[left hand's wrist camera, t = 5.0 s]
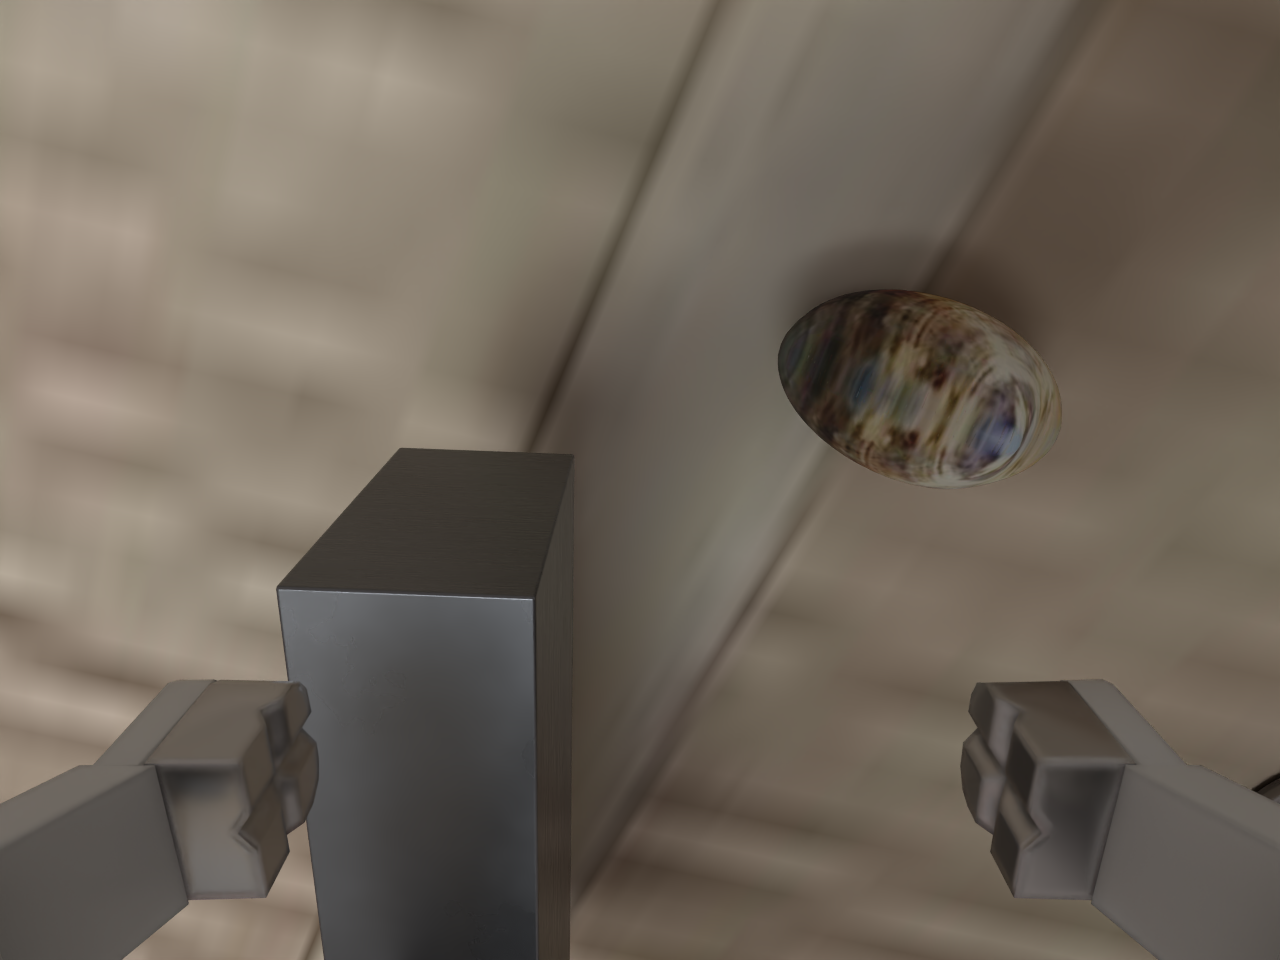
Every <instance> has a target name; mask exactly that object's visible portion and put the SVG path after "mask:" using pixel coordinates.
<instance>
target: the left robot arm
mask: <svg viewBox="0 0 1280 960" xmlns="http://www.w3.org/2000/svg"><path fill="white" fill-rule="evenodd" d="M311 712H312V711H311V706H310V701H309V696H308V691H307V688H306V687H305V686H304V685H303V684H302V683H301V682H299V681H251V680H219V681H217V680H177V681H174V682H170V683H168V684H167V685H166V686H165V687H164V688H163V689H162V690H161V691H160V692H159V694H158V695H157V696H156V697H155V698H154V699H153V700H152V701H151V702H150V703H149V704H148V706H147V707H146V708H145V709H144V710H143V711H142V712H141V713H140V714H139V715H138V717H137V718H136V719H135V720H134V721H133V722H132V723H131V724H130V725H129V726H128V727H127V729H126V730H125V731H124V732H123V733H122V734H121V735H120V736H119V737H118V738H117V739H116V741H115V742H114V743H113V744H112V745H111V746H110V747H109V748H108V749H107V750H106V752H105V753H104V754H103V755H102V756H101V757H100V758H99V759H98V760H97V761H96V762H95V764H94V765H79V766H77V767H75V768H73V769H71V770H69V771H67V772H64V773H62V774H60V775H58V776H56V777H54V778H52V779H50V780H48V781H46V782H44V783H42V784H40V785H38V786H36V787H34V788H32V789H30V790H28V791H26V792H24V793H22V794H20V795H18V796H16V797H13V798H11V799H9V800H7V801H5V802H3V803H1V804H0V960H122V959H123V958H124V957H126V956H127V955H128V954H129V953H130V952H132V951H133V950H134V949H135V948H136V947H138V946H139V945H140V944H141V943H142V942H144V941H145V940H146V939H147V938H148V937H150V936H151V935H152V934H153V933H154V932H156V931H157V930H158V929H159V928H160V927H162V926H163V925H164V924H165V923H167V922H168V921H169V920H170V919H171V918H173V917H174V916H175V915H176V914H177V913H179V912H180V911H181V910H182V909H183V908H185V907H186V906H187V905H188V903H189V902H188V900H206V899H240V898H266V897H267V895H268V893H269V891H270V889H271V887H272V885H273V883H274V881H275V879H276V877H277V875H278V873H279V871H280V870H281V868H282V866H283V864H284V862H285V860H286V858H287V856H288V854H289V852H290V850H289V844H288V839H287V834H289V833H290V832H292V831H293V830H294V829H296V828H297V827H299V826H300V825H302V824H303V823H304V822H305V820H306V818H307V816H308V814H309V812H310V810H311V808H312V806H313V804H314V799H315V795H316V790H317V786H318V781H319V755H318V748H317V742H316V741H315V740H314V739H313V738H312V737H311V736H310V735H309V734H308V733H307V732H306V731H305V730H304V729H303V728H302V727H303V726H304V724H305V722H306V720H307V719H308V717H309V715H310V714H311ZM968 712H969V714H970V715H971V717H972V719H973V720H974V722H975V724H976V726H977V727H978V728H977V729H976V730H975V731H974V732H973V733H972V734H971V735H970V736H969V737H968V738H967V739H966V740H965V741H964V742H963V749H962V757H961V765H960V767H961V778H962V789H963V792H964V796H965V799H966V802H967V806H968V808H969V810H970V812H971V814H972V816H973V818H974V820H975V822H976V823H977V824H978V825H980V826H981V827H983V828H984V829H986V830H987V831H988V832H990V833H991V834H993V839H992V844H991V850H990V852H991V854H992V856H993V858H994V860H995V862H996V864H997V866H998V868H999V869H1000V871H1001V873H1002V875H1003V877H1004V879H1005V881H1006V883H1007V885H1008V887H1009V889H1010V891H1011V893H1012V895H1013V897H1014V898H1038V899H1073V900H1092V902H1091V904H1092V905H1093V906H1095V907H1096V908H1097V909H1098V910H1099V911H1101V912H1102V913H1103V914H1104V915H1105V916H1107V917H1108V918H1109V919H1110V920H1111V921H1113V922H1114V923H1115V924H1116V925H1117V926H1119V927H1120V928H1121V929H1122V930H1123V931H1125V932H1126V933H1127V934H1128V935H1129V936H1131V937H1132V938H1133V939H1134V940H1135V941H1137V942H1138V943H1139V944H1140V945H1142V946H1143V947H1144V948H1145V949H1146V950H1148V951H1149V952H1150V953H1151V954H1152V955H1154V956H1155V957H1156V958H1157V959H1158V960H1280V804H1279V803H1277V802H1274V801H1272V800H1270V799H1268V798H1266V797H1264V796H1262V795H1260V794H1258V793H1256V792H1254V791H1252V790H1250V789H1248V788H1246V787H1244V786H1242V785H1240V784H1238V783H1236V782H1234V781H1232V780H1230V779H1228V778H1226V777H1224V776H1222V775H1220V774H1218V773H1215V772H1213V771H1211V770H1209V769H1207V768H1205V767H1203V766H1201V765H1186V764H1185V762H1184V761H1183V760H1182V759H1181V758H1180V757H1179V756H1178V755H1177V754H1176V753H1175V752H1174V750H1173V749H1172V748H1171V747H1170V746H1169V745H1168V744H1167V743H1166V742H1165V741H1164V739H1163V738H1162V737H1161V736H1160V735H1159V734H1158V733H1157V732H1156V731H1155V730H1154V729H1153V727H1152V726H1151V725H1150V724H1149V723H1148V722H1147V721H1146V720H1145V719H1144V718H1143V716H1142V715H1141V714H1140V713H1139V712H1138V711H1137V710H1136V709H1135V708H1134V707H1133V706H1132V704H1131V703H1130V702H1129V701H1128V700H1127V699H1126V698H1125V697H1124V696H1123V695H1122V694H1121V692H1120V691H1119V690H1118V689H1117V688H1116V687H1115V686H1114V685H1113V684H1112V683H1110V682H1107V681H1105V680H1103V679H1089V680H1061V681H1044V682H989V683H977V684H976V686H975V688H974V690H973V692H972V694H971V700H970V705H969V711H968Z"/></svg>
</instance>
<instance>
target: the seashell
mask: <svg viewBox="0 0 1280 960" xmlns="http://www.w3.org/2000/svg"><path fill="white" fill-rule="evenodd" d="M778 370H779V375H780V379H781V383H782V386H783V388H784V391H785V393H786V395H787V397H788V399H789V401H790V402H791V404H792V406H793V407H794V409H795V410H796V412H797V413H798V414H799V415H800V417H801V418H802V419H803V420H804V422H805V423H806V424H807V425H808V426H809V427H810V428H811V429H812V430H813V431H814V432H815V433H816V434H817V435H818V436H819V437H821V438H822V439H823V440H824V441H825V442H827V443H828V444H829V445H830V446H832V447H833V448H834V449H836V450H837V451H839V452H840V453H842V454H843V455H845V456H846V457H848V458H850V459H851V460H853V461H855V462H856V463H858V464H860V465H862V466H864V467H866V468H868V469H870V470H872V471H874V472H877V473H879V474H881V475H884V476H886V477H889V478H892V479H895V480H898V481H901V482H905V483H908V484H912V485H917V486H922V487H929V488H939V489H958V488H968V487H975V486H980V485H985V484H989V483H993V482H996V481H1000V480H1003V479H1006V478H1008V477H1011V476H1014V475H1016V474H1018V473H1020V472H1022V471H1024V470H1026V469H1028V468H1029V467H1031V466H1032V465H1034V464H1035V463H1036V462H1037V461H1039V460H1040V459H1041V458H1042V457H1043V456H1044V455H1045V454H1046V453H1047V452H1048V451H1049V450H1050V449H1051V447H1052V446H1053V444H1054V443H1055V441H1056V439H1057V436H1058V434H1059V431H1060V428H1061V422H1062V404H1061V398H1060V394H1059V390H1058V387H1057V384H1056V381H1055V379H1054V377H1053V375H1052V373H1051V372H1050V370H1049V368H1048V366H1047V365H1046V363H1045V362H1044V361H1043V359H1042V358H1041V357H1040V355H1039V354H1038V353H1037V352H1036V351H1035V350H1034V349H1033V348H1032V347H1031V346H1030V345H1029V344H1028V343H1027V342H1026V341H1025V340H1024V339H1023V338H1022V337H1021V336H1020V335H1018V334H1017V333H1016V332H1015V331H1013V330H1012V329H1011V328H1009V327H1008V326H1006V325H1005V324H1003V323H1002V322H1000V321H999V320H997V319H995V318H993V317H992V316H990V315H988V314H986V313H984V312H982V311H980V310H978V309H975V308H973V307H971V306H968V305H966V304H963V303H960V302H958V301H955V300H951V299H948V298H945V297H941V296H937V295H932V294H927V293H921V292H915V291H905V290H869V291H862V292H855V293H851V294H847V295H843V296H839V297H837V298H834V299H832V300H829V301H827V302H825V303H823V304H821V305H819V306H817V307H816V308H814V309H813V310H811V311H810V312H809V313H807V314H806V315H805V316H804V317H802V318H801V319H800V320H799V321H798V322H797V323H796V324H795V325H794V326H793V327H792V328H791V329H790V330H789V331H788V333H787V334H786V336H785V338H784V339H783V341H782V343H781V346H780V350H779V353H778Z"/></svg>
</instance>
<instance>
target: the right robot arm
mask: <svg viewBox="0 0 1280 960" xmlns="http://www.w3.org/2000/svg"><path fill="white" fill-rule="evenodd" d="M1256 793H1258V794H1260V795H1262V796H1264V797H1266V798H1268V799H1270V800H1272V801H1274V802H1277V803H1279V804H1280V778H1279V779H1277V780H1275V781H1273V782H1272V783H1270V784H1268V785H1267V786H1265V787H1263V788H1262V789H1261V790H1259V791H1258V792H1256Z"/></svg>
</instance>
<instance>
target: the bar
mask: <svg viewBox="0 0 1280 960" xmlns="http://www.w3.org/2000/svg"><path fill="white" fill-rule="evenodd" d="M573 546H574V455H572V454H546V453H520V452H495V451H469V450H443V449H418V448H399V449H398V451H397V452H396V453H395V454H394V455H393V456H392V457H391V458H390V460H389V461H388V462H387V463H386V464H385V465H384V466H383V467H382V469H381V470H380V471H379V472H378V473H377V474H376V475H375V476H374V478H373V479H372V480H371V481H370V482H369V483H368V484H367V486H366V487H365V488H364V489H363V490H362V491H361V492H360V493H359V495H358V496H357V497H356V498H355V499H354V500H353V501H352V502H351V504H350V505H349V506H348V507H347V508H346V509H345V510H344V511H343V513H342V514H341V515H340V516H339V517H338V518H337V519H336V520H335V522H334V523H333V524H332V525H331V526H330V527H329V528H328V529H327V531H326V532H325V533H324V534H323V535H322V536H321V537H320V538H319V540H318V541H317V542H316V543H315V544H314V545H313V546H312V547H311V549H310V550H309V551H308V552H307V553H306V554H305V555H304V556H303V558H302V559H301V560H300V561H299V562H298V563H297V564H296V565H295V567H294V568H293V569H292V570H291V571H290V572H289V573H288V574H287V576H286V577H285V578H284V579H283V580H282V581H281V582H280V583H279V585H278V586H277V588H276V591H277V599H278V607H279V614H280V622H281V630H282V637H283V645H284V653H285V661H286V668H287V676H288V681H299V682H301V683H302V684H303V685H304V686H305V687H306V688H307V691H308V696H309V701H310V706H311V711H312V712H311V714H310V715H309V717H308V719H307V720H306V722H305V724H304V726H303V727H302V728H303V729H304V730H305V731H306V732H307V733H308V734H309V735H310V736H311V737H312V738H313V739H314V740H315V741H316V742H317V748H318V755H319V781H318V786H317V790H316V795H315V799H314V804H313V806H312V808H311V810H310V812H309V814H308V816H307V818H306V823H307V830H308V838H309V846H310V854H311V861H312V869H313V877H314V885H315V892H316V900H317V908H318V915H319V923H320V931H321V939H322V946H323V954H324V960H570V871H571V762H572V654H573Z"/></svg>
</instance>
